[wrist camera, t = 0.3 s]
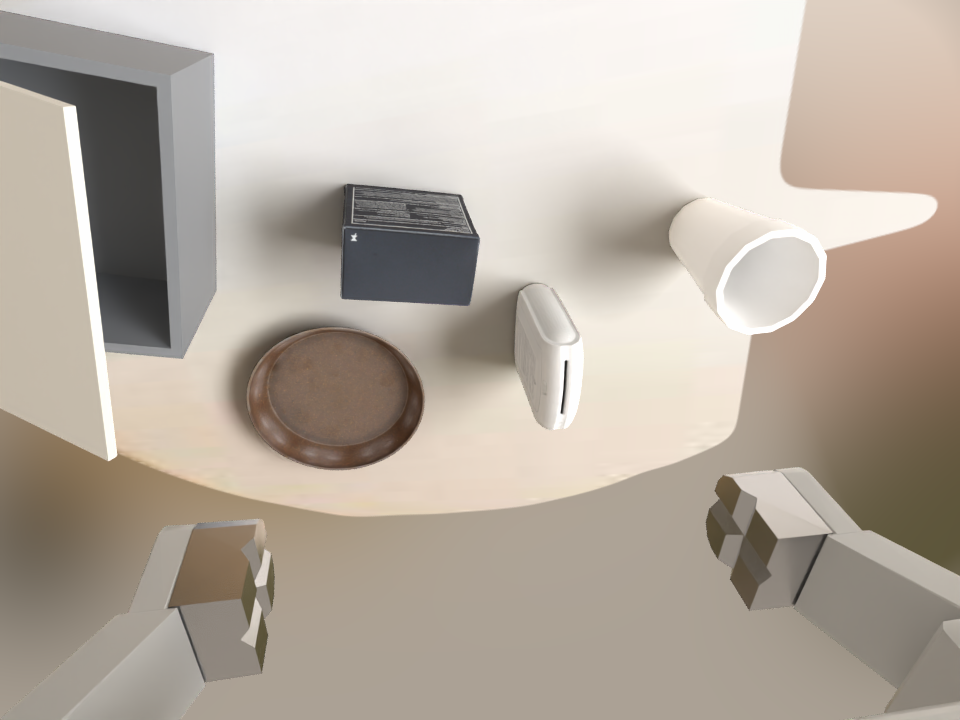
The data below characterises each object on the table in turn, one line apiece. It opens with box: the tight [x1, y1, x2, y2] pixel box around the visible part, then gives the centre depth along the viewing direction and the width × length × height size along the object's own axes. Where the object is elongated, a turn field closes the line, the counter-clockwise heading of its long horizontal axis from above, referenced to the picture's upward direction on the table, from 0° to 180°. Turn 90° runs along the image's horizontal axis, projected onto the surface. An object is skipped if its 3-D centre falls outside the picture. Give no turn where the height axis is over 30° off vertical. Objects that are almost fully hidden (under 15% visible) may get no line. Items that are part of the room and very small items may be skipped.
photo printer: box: [515, 284, 583, 430], centre depth 58 cm, size 10×4×12 cm, turn 0°
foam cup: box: [669, 198, 826, 335], centre depth 55 cm, size 10×9×13 cm
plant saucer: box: [246, 327, 425, 470], centre depth 63 cm, size 18×18×3 cm
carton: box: [0, 11, 216, 359], centre depth 44 cm, size 20×20×12 cm
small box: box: [341, 184, 480, 306], centre depth 51 cm, size 11×6×10 cm, turn 82°
